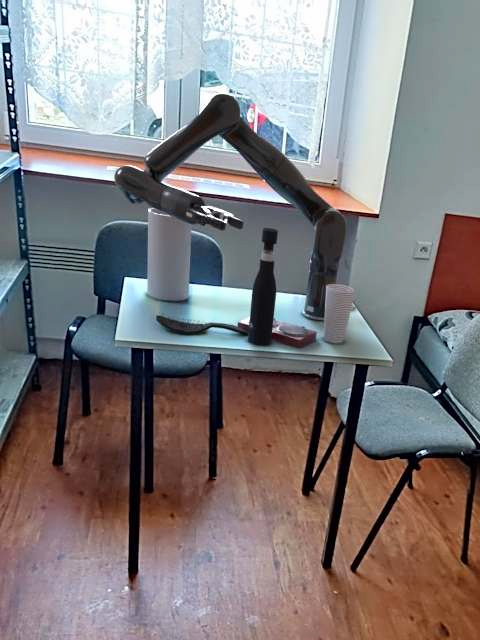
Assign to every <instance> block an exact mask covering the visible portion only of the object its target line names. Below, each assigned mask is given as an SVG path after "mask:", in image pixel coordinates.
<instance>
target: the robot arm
mask: <svg viewBox="0 0 480 640" xmlns="http://www.w3.org/2000/svg"><path fill="white" fill-rule="evenodd" d="M241 113H242V112H241V106H240V104H239V101H238V100H237V99H236V98H235V97H234V96H233V95H231V94H229V93H227V92H218V93H214V94H213V95H211V96H210V98H208V99H207V101H206V102H205V104H204V105H203V108H202V109H201V111H199V113H198V114H197V115H196V116H195V117H194V118H193V119H191V121H189V122H188V123H187V124H186V125H184V126H183V127H182V128H180V129H179V130H178V131H176V132H175V133H173V134H171V135H170V136H169V137H168V138H166V139H165V140H163V141H162V142H161V143H160V144H158V145H157V146H155V147H154V148H152V150H151V151H150V152H148V153H147V154H146V155H145V156H144V157H143V165H144V170H142V169H140V168H138V167H136V166H133V165H121V166H119V167H118V168H117V169H116V170H115V172H114V174H113V175H114V176H113V177H114V178H113V180H114V183H115V185H116V186H117V188H118V189H119V191H120V192H121V193H122V195H123V196H124V197H125V198H126V200H127V201H128V202H129V203H130V204H134V205H140V204H143V203H146V204H147V205H148V206H150V207H151V208H155V209H157V210H160V211H162V212H164V213H166V214H168V215H170V216H172V217H174V218H176V219H179V220H181V221H184V222H186V223H189V224H191V225H192V226H195V225H200V226H201V227H206V226H207V227H210V228H211V227H212V228H215V229H217V230H219V231H222V232H223V231H226V228H227V226H230V227H233V228H235V229H238V230H242V229H243V227H244V224H245V223H244V221H243V220H241V219H240V218H237V217H235V214H234V213H230V212H228V211H225V210H223V209H221V208H218V207H213V206H209V205H207V206H206V203H205V201H204V199H203V197H201V196H199V195H197V194H195V193H193V192H190V191H188V190H185V189H182V188H179V187H175V186H172V185H170V184H167V183H165V182H163V180H164V179H165V178H166V177H168V176H169V175H171V174H172V173H173V172H174V171H175V170H177V169H178V168H179V167H180V166H181V165H183V163H185V162H186V161H188V159H189V158H190V157H191V156H192V155H193V154H194V153H196V152H197V151H198V150H199V149H200V148H202V147H203V146H204V145H206V144H207V143H208V142H209V141H211V140H213V139H214V138H216V137H218V136H219V137H220V138H222V139H223V140H224V141H225V142H227V143H228V145H230V146H231V147H232V148H233V149H235V150H236V152H238V154H239V155H240V156H241V157H242V159H244V160H245V161H246V163H247V164H248V165H249V166H250V167H251V168H252V169H253V170H254V172H255V173H256V174H257V175H258V176H259V177H260V178H261V179H262V180H263V181H264V182H265V183H266V184H267V185H268V186H269V187H270V188H271V189H272V190H273V191H274V192H275V193H276V194H278V195H279V196H280V197H281V198H282V199H284V200H285V201H286V202H288V203H289V204H290V205H292V206H293V207H294V208H295V209H297V210H298V211H299V212H300V213H301V214H302V216H303V217H304V218H305V219H306V220H307V222H308V223H309V224H310V225H311V227H312V229H314V231H315V236H314V243H313V247H312V251H311V253H310V261H309V267H308V276H307V282H306V291H305V297H304V308H303V316H304V317H305V318H307V319H309V320H314V321H320V322H324V318H325V301H326V285H328V284H338V280H339V279H338V277H339V271H340V266H341V265H340V264H341V260H342V257H343V253H344V249H345V243H346V238H347V229H348V226H347V220H346V218H345V216H344V215H343V214H342V213H341V212H340V211H339V210H338V209H336V208H335V207H333V206H332V205H331V204H329V202H327V201H326V200H325V199H324V198H322V196H321V195H320V194H318V193H317V192H316V191H315V189H313V188H312V186H311V185H310V183H309V181H307V179H306V177H305V176H304V175H303V173H302V172H301V171H300V169H298V168H297V166H296V165H295V164H294V163H293V162H292V161H291V160H290V159H289V158H288V157H287V155H285V154H284V152H283V151H281V150H280V149H279V148H278V147H277V146H275V145H274V144H272V143H271V142H270V141H268V140H267V139H265V138H264V137H263V136H261V135H260V134H258V133H257V132H256V131H255V130H254V129H253V128H252V127H251V126H250V125H249V124H248V123H247V122H246V121H245V120H244V118H243V117H242V116H241Z"/></svg>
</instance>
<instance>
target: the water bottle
mask: <svg viewBox="0 0 480 640" xmlns="http://www.w3.org/2000/svg"><path fill="white" fill-rule="evenodd" d="M278 233H279V231H278V229H275V228H270V227H264V228H262V233H261V242H262V243H263V251H262V253H261V256H260V259H259V269H258V272H257V273H256V276H255V278H254V282H253V284H252V288H251V289H252V290H251V299H250V300H251V302H250V314H249V317H250V322H249V333H248V334H247V342H248V343H249V344H252V345H255V346H259V347H267V346H269V345H271V344H272V340H271V338H272V329H273V319H275V310H276V309H275V308H276V300H277V283H276V276H275V273H274V271H275V270H274V269H275V260H274V259H275V253H274V248H275V247H274V246H275V245H277V244H278Z"/></svg>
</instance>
